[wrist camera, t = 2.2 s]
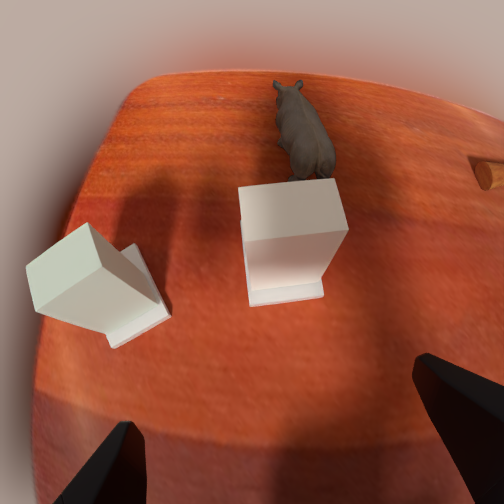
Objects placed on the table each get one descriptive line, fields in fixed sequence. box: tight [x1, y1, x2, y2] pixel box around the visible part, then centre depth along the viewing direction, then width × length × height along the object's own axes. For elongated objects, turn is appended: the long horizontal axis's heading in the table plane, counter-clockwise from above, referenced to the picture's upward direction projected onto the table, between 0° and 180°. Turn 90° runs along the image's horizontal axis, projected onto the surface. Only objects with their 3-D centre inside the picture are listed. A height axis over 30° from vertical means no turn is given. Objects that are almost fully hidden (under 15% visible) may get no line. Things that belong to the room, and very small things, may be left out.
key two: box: [26, 222, 159, 335], centre depth 18 cm, size 3×5×9 cm, turn 121°
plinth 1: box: [106, 243, 172, 349], centre depth 23 cm, size 7×6×1 cm
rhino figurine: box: [273, 80, 336, 182], centre depth 26 cm, size 4×14×6 cm, turn 9°
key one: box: [238, 178, 349, 291], centre depth 19 cm, size 3×5×9 cm, turn 96°
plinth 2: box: [240, 220, 324, 307], centre depth 24 cm, size 7×6×1 cm
